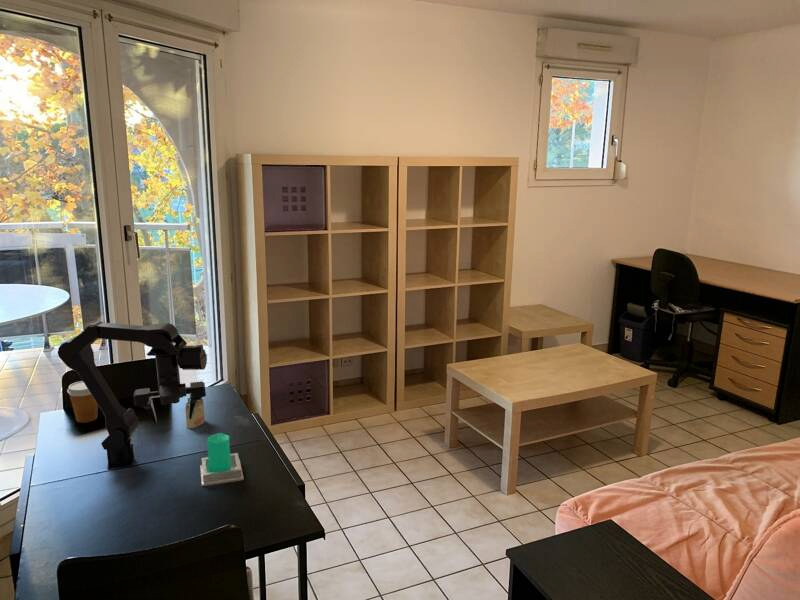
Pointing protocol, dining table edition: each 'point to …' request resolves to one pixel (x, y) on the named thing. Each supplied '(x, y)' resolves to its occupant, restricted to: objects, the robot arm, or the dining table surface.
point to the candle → (218, 452)
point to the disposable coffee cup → (82, 402)
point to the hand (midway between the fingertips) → (173, 421)
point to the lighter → (195, 414)
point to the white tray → (221, 472)
